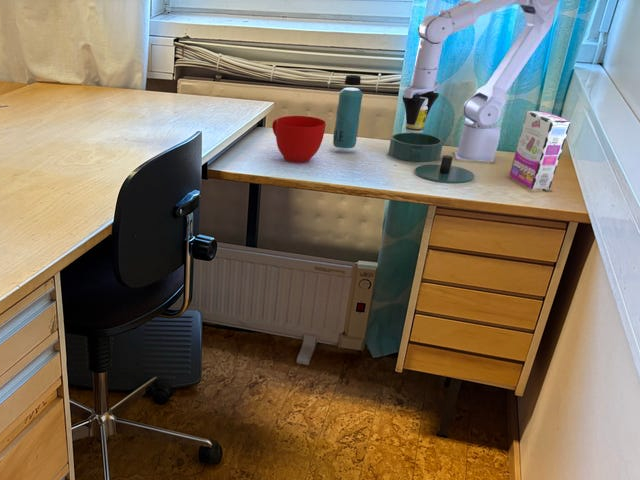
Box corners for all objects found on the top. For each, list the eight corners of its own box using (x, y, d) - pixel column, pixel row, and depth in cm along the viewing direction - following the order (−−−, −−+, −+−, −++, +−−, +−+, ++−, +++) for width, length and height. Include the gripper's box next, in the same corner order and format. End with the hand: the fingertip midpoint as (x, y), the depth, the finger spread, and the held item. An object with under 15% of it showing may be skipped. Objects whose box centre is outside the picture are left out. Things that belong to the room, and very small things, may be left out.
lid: (470, 171, 182) (475, 151, 180) (475, 188, 171) (480, 167, 168) (413, 166, 186) (417, 147, 183) (414, 182, 174) (418, 162, 171)
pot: (437, 150, 199) (441, 132, 196) (440, 169, 184) (445, 150, 181) (388, 146, 202) (391, 128, 199) (387, 164, 187) (391, 145, 184)
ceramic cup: (288, 147, 201) (292, 110, 196) (331, 161, 189) (336, 123, 184) (253, 153, 195) (256, 116, 190) (295, 169, 183) (299, 129, 178)
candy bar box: (551, 191, 169) (572, 121, 160) (531, 191, 169) (551, 121, 160) (526, 176, 178) (545, 109, 170) (507, 177, 178) (525, 110, 169)
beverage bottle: (358, 149, 199) (369, 74, 188) (350, 155, 194) (361, 78, 184) (336, 146, 202) (346, 72, 191) (327, 151, 197) (337, 76, 187)
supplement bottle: (424, 133, 186) (430, 100, 181) (405, 132, 187) (411, 99, 182) (422, 129, 190) (428, 96, 185) (404, 128, 191) (410, 95, 186)
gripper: (425, 62, 187) (415, 115, 194) (397, 69, 178) (387, 124, 185) (451, 66, 182) (439, 120, 190) (423, 73, 174) (412, 129, 181)
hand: (415, 122), depth 187 cm, fingers closed on supplement bottle, 5 cm apart
